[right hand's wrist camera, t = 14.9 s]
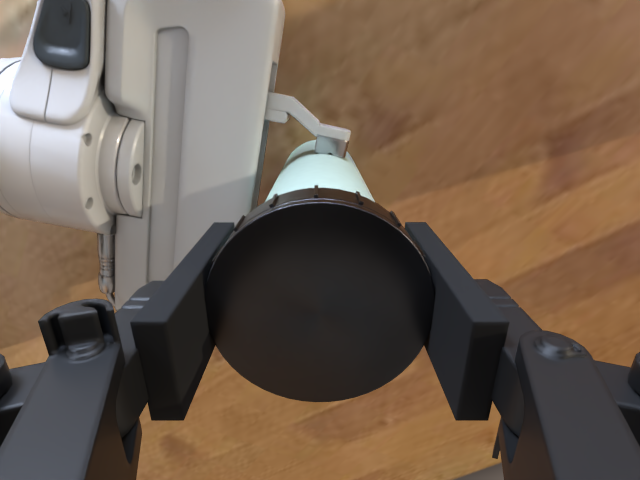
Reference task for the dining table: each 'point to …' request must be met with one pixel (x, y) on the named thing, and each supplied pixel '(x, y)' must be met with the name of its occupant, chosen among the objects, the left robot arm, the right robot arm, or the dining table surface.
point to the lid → (319, 296)
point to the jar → (318, 172)
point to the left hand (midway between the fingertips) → (334, 201)
